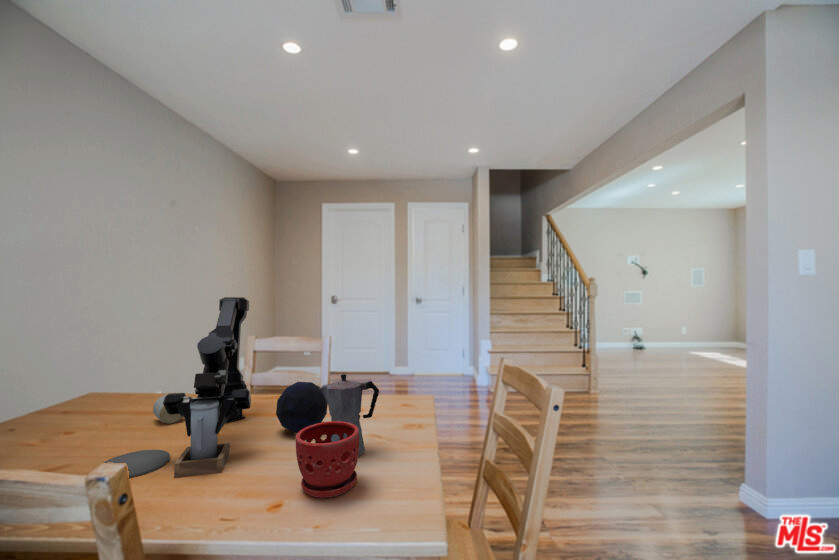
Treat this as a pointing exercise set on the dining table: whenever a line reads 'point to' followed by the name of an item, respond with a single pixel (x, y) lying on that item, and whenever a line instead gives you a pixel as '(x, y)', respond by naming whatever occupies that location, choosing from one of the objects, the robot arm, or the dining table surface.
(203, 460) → the jug holder
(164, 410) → the ceramic mug
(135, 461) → the rubber mat
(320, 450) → the plant pot
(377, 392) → the moka pot
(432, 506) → the dining table surface
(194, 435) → the jug
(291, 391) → the decorative orb
